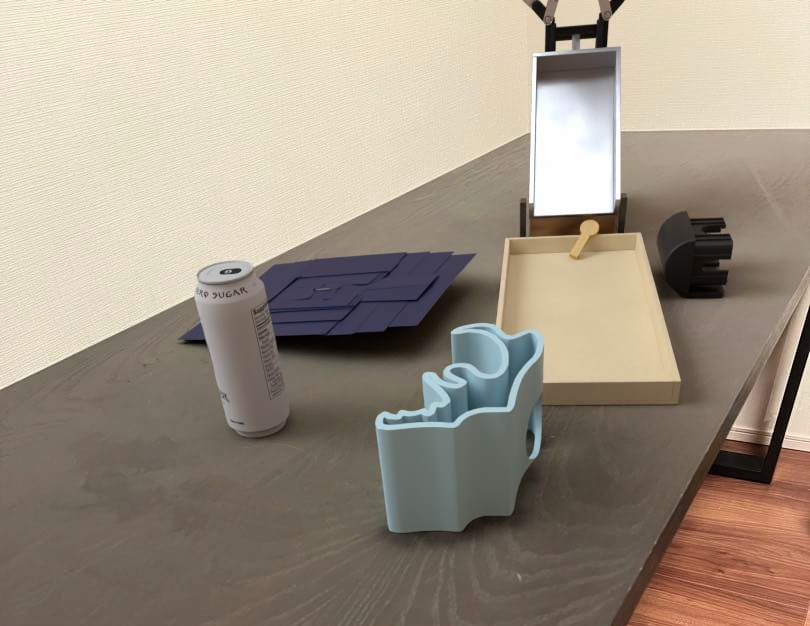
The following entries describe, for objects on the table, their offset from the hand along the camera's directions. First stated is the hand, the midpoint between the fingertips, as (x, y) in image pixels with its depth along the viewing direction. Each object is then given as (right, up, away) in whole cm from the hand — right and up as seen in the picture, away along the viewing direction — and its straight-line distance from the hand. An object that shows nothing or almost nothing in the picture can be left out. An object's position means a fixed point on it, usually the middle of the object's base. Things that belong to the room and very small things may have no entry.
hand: (575, 55), depth 104 cm
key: (+1, -25, -3) cm, 26 cm away
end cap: (+11, -34, -11) cm, 37 cm away
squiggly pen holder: (-17, -59, -38) cm, 72 cm away
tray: (-3, -39, -16) cm, 42 cm away
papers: (-31, -37, -9) cm, 49 cm away
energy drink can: (-37, -53, -28) cm, 70 cm away
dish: (0, -10, -1) cm, 10 cm away
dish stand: (+1, -20, +7) cm, 21 cm away
